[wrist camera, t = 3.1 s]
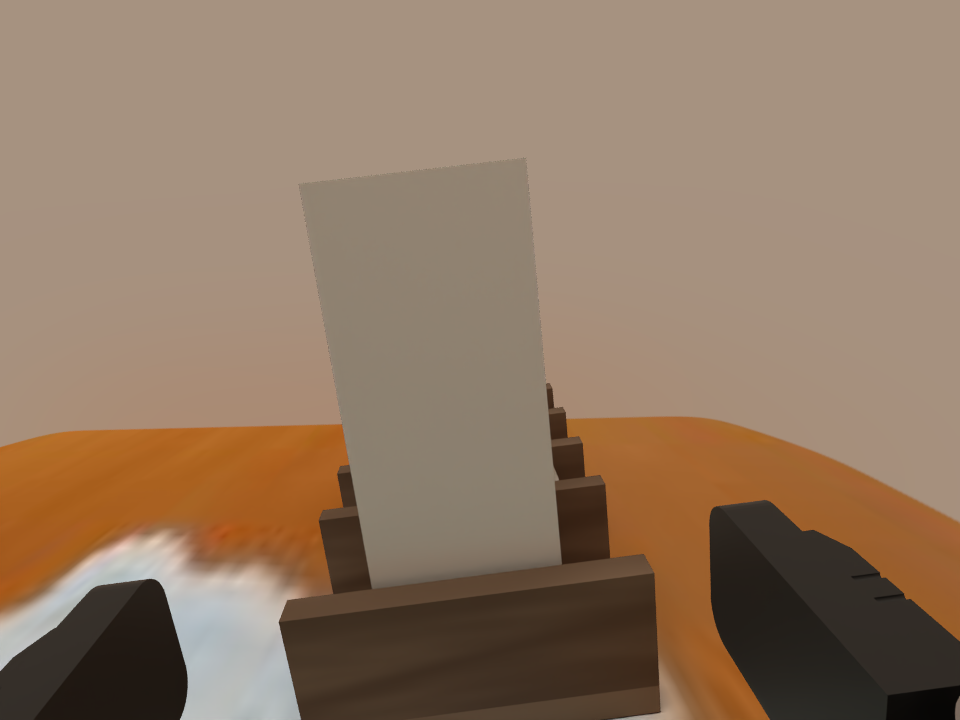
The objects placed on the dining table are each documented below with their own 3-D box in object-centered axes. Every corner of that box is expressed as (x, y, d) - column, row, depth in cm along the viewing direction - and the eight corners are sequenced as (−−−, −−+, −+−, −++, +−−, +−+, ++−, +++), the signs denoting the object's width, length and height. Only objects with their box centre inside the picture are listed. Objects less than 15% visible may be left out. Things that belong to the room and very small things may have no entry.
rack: (660, 711, 19) (654, 573, 18) (310, 758, 19) (278, 621, 18) (556, 460, 38) (549, 383, 37) (377, 483, 38) (363, 406, 36)
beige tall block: (570, 663, 20) (525, 158, 16) (389, 687, 20) (298, 184, 16) (550, 589, 24) (510, 165, 20) (398, 608, 24) (327, 186, 20)
